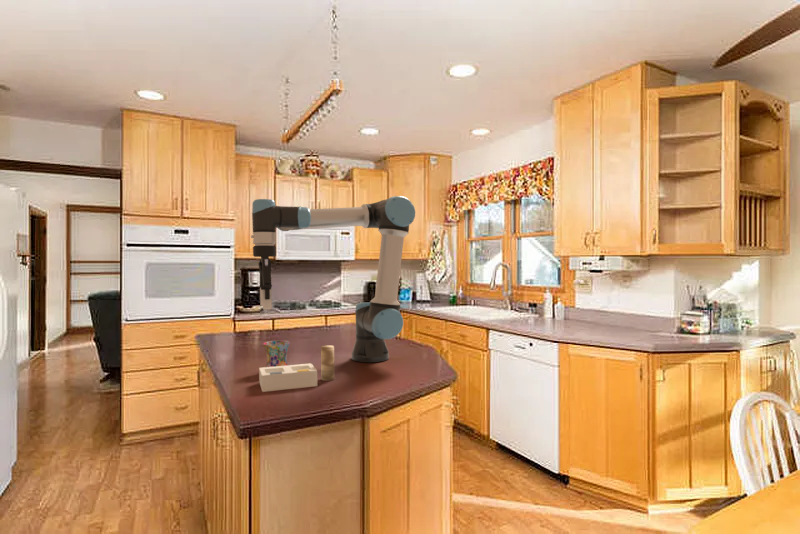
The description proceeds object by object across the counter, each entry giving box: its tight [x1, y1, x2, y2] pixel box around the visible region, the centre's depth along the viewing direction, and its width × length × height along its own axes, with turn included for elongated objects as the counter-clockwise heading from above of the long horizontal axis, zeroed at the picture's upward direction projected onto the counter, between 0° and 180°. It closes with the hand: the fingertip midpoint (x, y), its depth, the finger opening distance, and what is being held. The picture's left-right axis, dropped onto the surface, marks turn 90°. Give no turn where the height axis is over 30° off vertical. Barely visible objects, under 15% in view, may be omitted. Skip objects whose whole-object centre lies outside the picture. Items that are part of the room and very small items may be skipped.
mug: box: [262, 340, 290, 367], centre depth 167 cm, size 12×9×11 cm
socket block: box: [258, 363, 318, 393], centre depth 149 cm, size 17×11×5 cm, turn 111°
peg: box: [320, 344, 335, 382], centre depth 155 cm, size 4×4×11 cm
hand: (265, 307), depth 156 cm, fingers open, 13 cm apart
